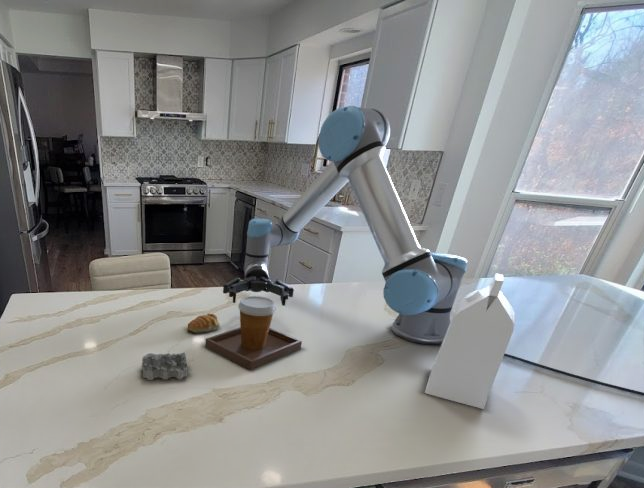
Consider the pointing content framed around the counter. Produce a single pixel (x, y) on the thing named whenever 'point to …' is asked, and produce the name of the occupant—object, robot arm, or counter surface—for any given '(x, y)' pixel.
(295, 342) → the serving tray
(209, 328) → the pastry
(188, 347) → the counter surface
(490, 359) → the milk
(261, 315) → the disposable coffee cup
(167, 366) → the egg carton
